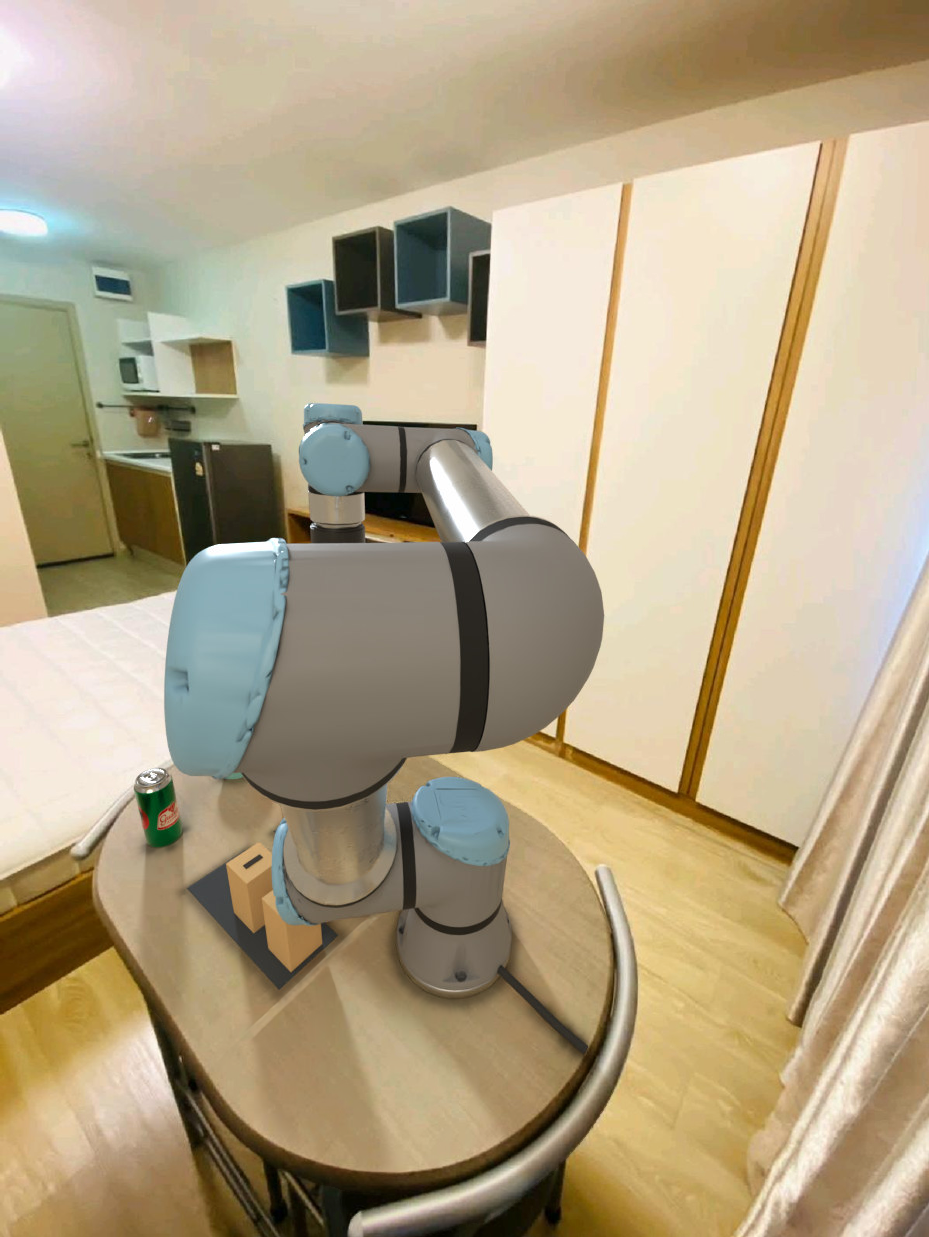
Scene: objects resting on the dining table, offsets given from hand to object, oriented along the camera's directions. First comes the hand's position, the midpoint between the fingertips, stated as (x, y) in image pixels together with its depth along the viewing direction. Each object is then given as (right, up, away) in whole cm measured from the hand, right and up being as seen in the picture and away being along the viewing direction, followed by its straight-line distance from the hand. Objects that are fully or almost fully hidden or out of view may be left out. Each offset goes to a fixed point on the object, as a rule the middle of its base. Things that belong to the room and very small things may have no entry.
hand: (343, 658), depth 81 cm
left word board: (-9, -34, -9) cm, 37 cm away
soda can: (-29, -29, +2) cm, 41 cm away
